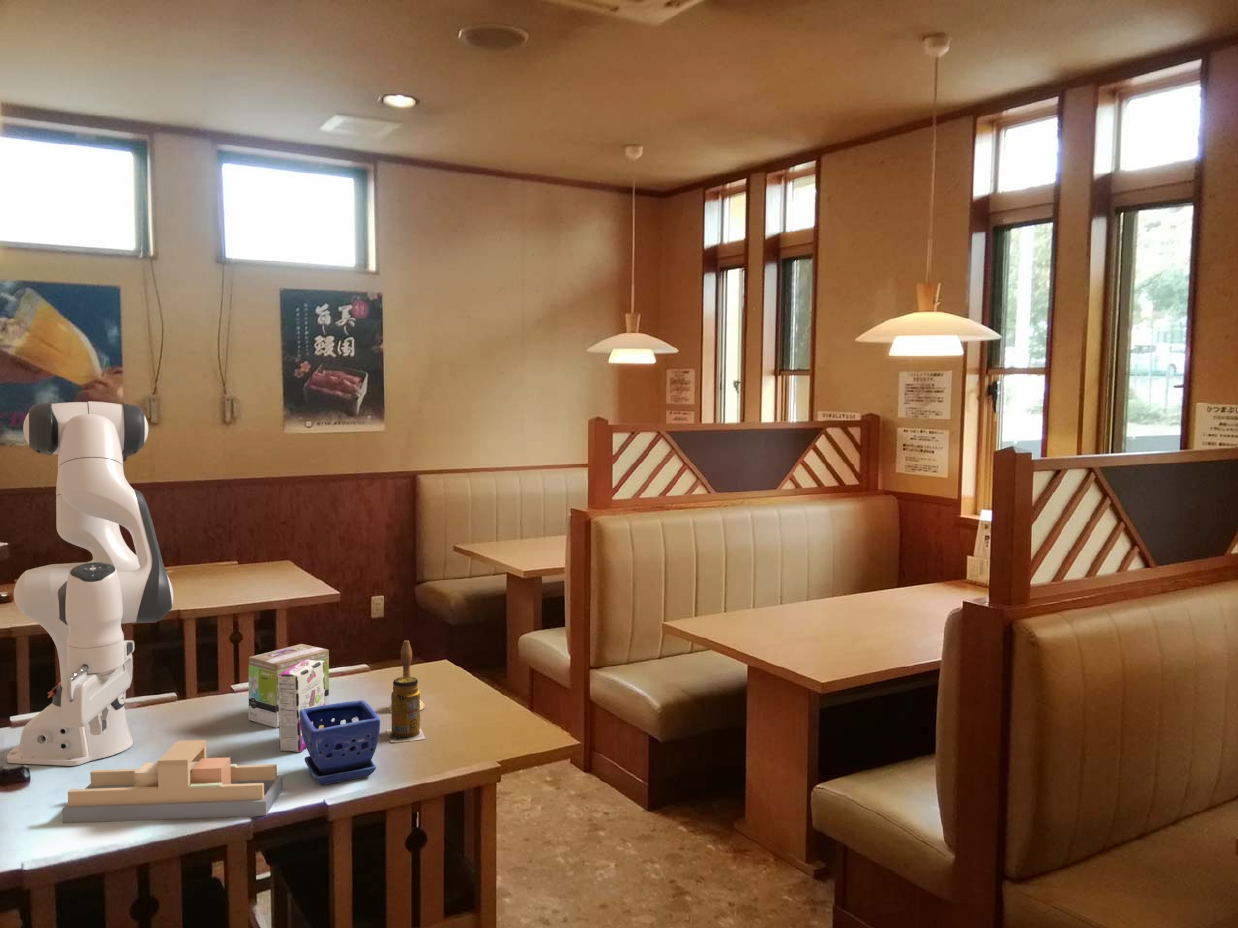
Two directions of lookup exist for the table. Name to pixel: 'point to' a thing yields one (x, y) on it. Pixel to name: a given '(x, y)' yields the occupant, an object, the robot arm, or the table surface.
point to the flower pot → (340, 741)
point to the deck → (174, 791)
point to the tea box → (265, 679)
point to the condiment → (405, 711)
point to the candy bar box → (298, 700)
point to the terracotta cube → (212, 771)
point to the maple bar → (151, 775)
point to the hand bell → (407, 664)
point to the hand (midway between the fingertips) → (99, 731)
